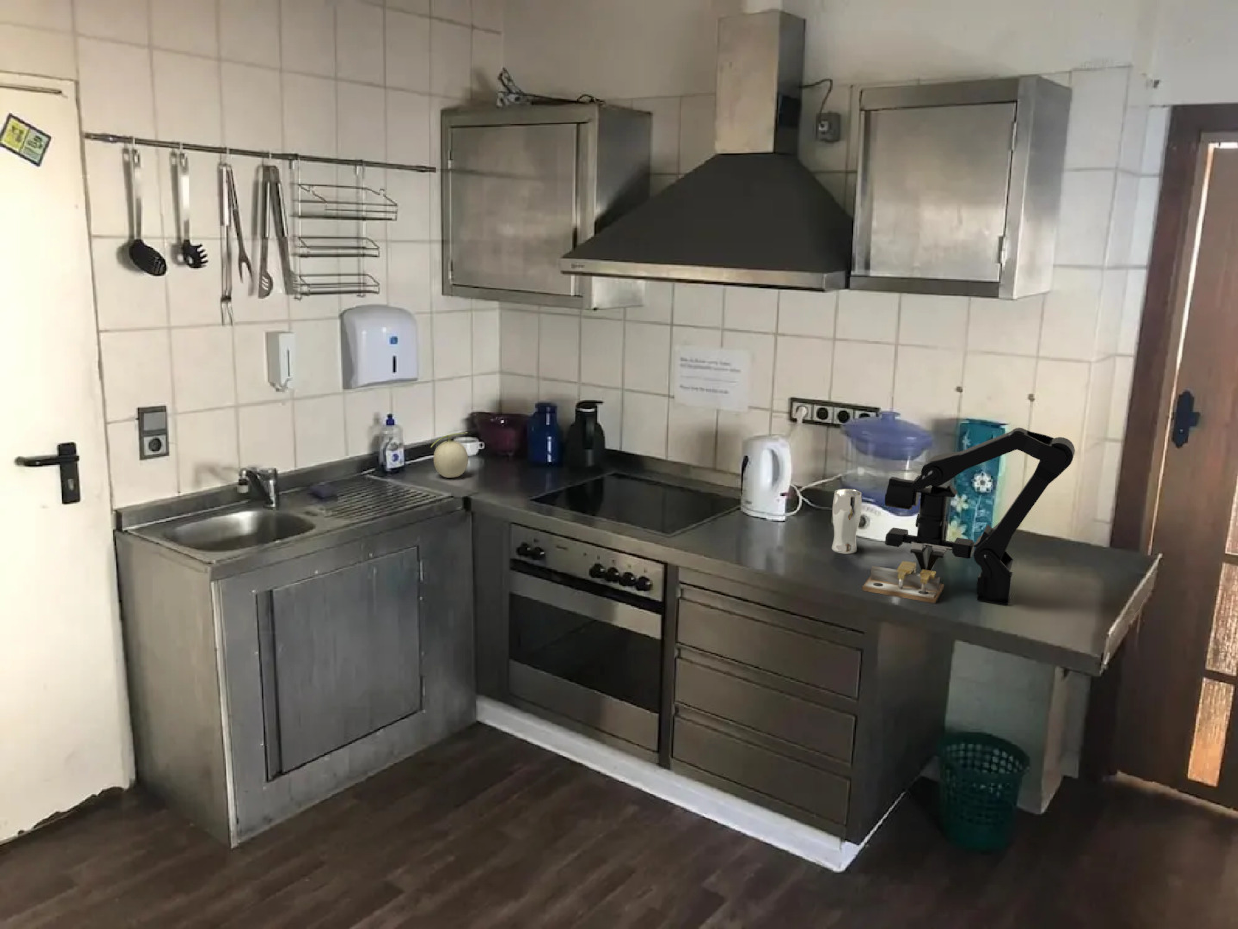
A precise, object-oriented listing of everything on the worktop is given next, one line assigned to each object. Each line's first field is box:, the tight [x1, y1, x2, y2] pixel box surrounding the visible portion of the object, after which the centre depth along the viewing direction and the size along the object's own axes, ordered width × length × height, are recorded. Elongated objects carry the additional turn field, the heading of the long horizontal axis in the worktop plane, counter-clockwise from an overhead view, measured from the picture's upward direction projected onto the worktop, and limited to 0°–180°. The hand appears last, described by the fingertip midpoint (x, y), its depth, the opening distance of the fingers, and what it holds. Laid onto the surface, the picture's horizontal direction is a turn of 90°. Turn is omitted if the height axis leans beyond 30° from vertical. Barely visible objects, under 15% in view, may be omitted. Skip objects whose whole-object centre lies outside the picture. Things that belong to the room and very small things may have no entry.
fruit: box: [430, 431, 469, 479], centre depth 319 cm, size 10×12×15 cm
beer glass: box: [831, 488, 863, 555], centre depth 256 cm, size 7×7×15 cm
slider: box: [896, 560, 917, 588], centre depth 232 cm, size 3×9×4 cm, turn 153°
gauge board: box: [861, 565, 945, 604], centre depth 231 cm, size 16×10×5 cm, turn 63°
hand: (926, 578), depth 233 cm, fingers closed
